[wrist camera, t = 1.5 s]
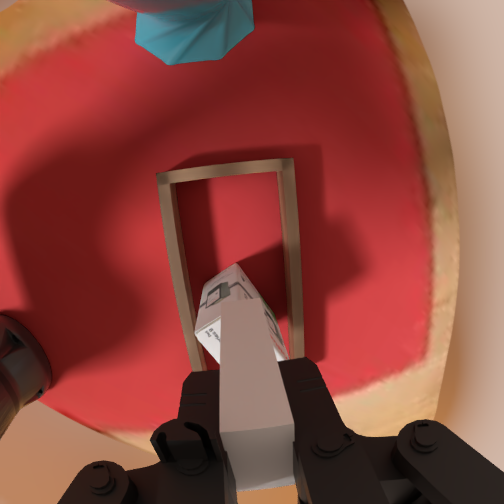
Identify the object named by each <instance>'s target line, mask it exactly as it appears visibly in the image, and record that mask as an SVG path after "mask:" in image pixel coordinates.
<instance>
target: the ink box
mask: <svg viewBox="0 0 504 504" xmlns="http://www.w3.org/2000/svg"><path fill="white" fill-rule="evenodd" d="M254 298H260V300H261V303H262V307H263V311H264V314H265V318H266V322H267V325H268V329H269V333H270V336H271V340H272V344H273V347H274V351H275V355H276V358H277V361H283V360H289V357H288V353H287V350H286V347H285V345H284V341H283V338H282V335H281V332H280V329H279V326H278V323H277V320H276V317H275V314H274V313H273V311H272V310H271V308H270V307H269V306H268V304H267V303H266V302H265V300H264V299H263V298H262V296H261V295H260V293H259V292H258V291H257V289H256V288H255V287H254V285H253V284H252V283H251V281H250V280H249V278H248V277H247V276H246V274H245V273H244V272H243V270H242V269H241V268H240V266H239V265H238V264H237V263H234V264H233V265H231V266H229V267H228V268H226V269H225V270H223V271H222V272H220V273H219V274H218V275H216V276H215V277H213V278H212V279H210V280H209V281H207V282H206V283H205V284H204V286H203V292H202V296H201V301H200V306H199V312H198V317H197V322H196V326H195V335H196V337H197V339H198V340H199V342H200V343H201V344H202V345H203V346H204V347H205V348H206V349H207V350H208V352H209V353H210V354H211V355H212V356H213V357H214V359H215V360H216V361H217V362H218V363H219V364H220V332H221V302H229V301H237V300H246V299H254Z"/></svg>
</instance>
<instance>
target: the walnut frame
mask: <svg viewBox="0 0 504 504" xmlns="http://www.w3.org/2000/svg"><path fill="white" fill-rule="evenodd" d="M272 171H277V182H278V193H279V204H280V216H281V228H282V241H283V254H284V268H285V283H286V298H287V315H288V333H289V353H290V359H296V358H302V357H304V319H303V292H302V270H301V252H300V235H299V221H298V207H297V194H296V182H295V171H294V160H293V158H281V159H268V160H257V161H246V162H236V163H227V164H218V165H210V166H202V167H195V168H188V169H181V170H174V171H168V172H161V173H156V177H157V185H158V193H159V201H160V208H161V215H162V222H163V229H164V235H165V241H166V247H167V253H168V259H169V265H170V270H171V276H172V281H173V286H174V291H175V296H176V301H177V306H178V311H179V316H180V320H181V325H182V329H183V334H184V338H185V342H186V346H187V351H188V355H189V359H190V363H191V367H192V371H193V372H195V371H208V370H207V366H206V361H205V357H204V352H203V348H202V344H201V343H200V342H199V340H198V339H197V337H196V335H195V326H196V322H197V318H196V313H195V308H194V302H193V297H192V291H191V286H190V280H189V274H188V268H187V262H186V256H185V250H184V243H183V237H182V230H181V223H180V216H179V208H178V201H177V193H176V185H175V183H177V182H184V181H191V180H198V179H206V178H214V177H222V176H231V175H240V174H250V173H260V172H272Z"/></svg>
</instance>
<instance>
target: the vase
mask: <svg viewBox="0 0 504 504" xmlns="http://www.w3.org/2000/svg"><path fill="white" fill-rule="evenodd" d="M107 1H109V2H111V3H114V4H116V5H119V6H122V7H124V8H127V9H130V10H132V11H135V12H137V21H136V36H135V43H136V44H138V45H140V46H142V47H143V48H145V49H146V50H148V51H149V52H151V53H152V54H154V55H155V56H156V57H158V58H160V59H161V60H162V61H163V62H164V63H166V64H167V65H175V64H180V63H189V62H197V61H206V60H220V59H222V58H223V57H224V56H225V55H226V54H227V52H229V51H230V50H231V49H232V48H233V47H234V46H235V45H236V44H238V43H239V42H240V41H241V40H242V39H243V38H244V37H245V36H247V35H248V34H249V33H251V32H252V31H253V30H254V28H255V25H254V21H253V9H252V0H107Z"/></svg>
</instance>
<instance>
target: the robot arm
mask: <svg viewBox="0 0 504 504" xmlns="http://www.w3.org/2000/svg"><path fill="white" fill-rule="evenodd" d="M51 380H52V374H51V368H50V365H49V362H48V359H47V357H46V355H45V353H44V351H43V349H42V348H41V346H40V345H39V343H38V342H37V340H36V339H35V338H34V337H33V336H32V334H31V333H30V332H29V331H28V330H27V329H26V328H25V327H24V326H22V325H21V324H20V323H19V322H17V321H16V320H14V319H12V318H10V317H8V316H5V315H0V440H1V438H2V436H3V435H4V433H5V432H6V430H7V429H8V427H9V425H10V424H11V422H12V421H13V419H14V418H15V416H16V414H17V413H18V412H19V410H20V409H22V408H23V407H25V406H27V405H29V404H30V403H32V402H34V401H35V400H37V399H39V398H40V397H42V396H43V395H44V394H45V392H46V391H47V389H48V388H49V386H50V384H51ZM181 395H182V397H181V399H180V407H179V412H178V418H177V419H173V420H170V421H168V422H166V423H164V424H162V425H161V426H160V427H158V428H157V429H156V430H155V431H154V432H153V435H152V437H151V439H150V442H151V443H152V445H153V447H154V449H155V451H156V453H157V455H158V457H159V459H160V460H161V461H160V462H158V463H156V464H154V465H151V466H148V467H143V468H139V469H133V470H128V471H125V470H124V469H123V468H122V466H120V465H117V464H116V463H114V462H110V461H97V462H93V463H91V464H88V465H87V466H85V467H84V468H83V469H82V470H81V471H80V472H79V473H78V474H77V476H76V477H75V479H74V480H73V481H72V483H71V484H70V486H69V487H68V489H67V490H66V492H65V493H64V495H63V496H62V498H61V499H60V501H59V502H58V503H57V504H238V503H237V494H236V493H237V492H236V489H237V491H238V492H239V491H250V490H259V489H267V488H275V487H281V486H288V485H293V484H295V483H296V488H297V492H298V504H504V472H503V471H501V470H500V469H499V468H497V467H496V466H495V465H494V464H492V463H491V462H490V461H489V460H487V459H486V458H484V457H483V456H482V455H481V454H480V453H478V452H477V451H476V450H475V449H473V448H472V447H471V446H470V445H468V444H467V443H466V442H464V441H463V440H462V439H461V438H459V437H458V436H457V435H456V434H454V433H453V432H452V431H451V430H449V429H448V428H447V427H446V426H444V425H442V424H441V423H439V422H437V421H433V420H427V419H425V420H416V421H414V422H411V423H409V424H407V425H406V426H405V427H404V428H402V429H401V430H400V432H399V434H398V436H388V437H366V436H362V435H358V434H356V433H355V432H354V431H353V430H351V429H349V428H347V427H346V426H345V424H344V423H343V421H342V419H341V417H340V415H339V413H338V410H337V408H336V406H335V404H334V402H333V399H332V397H331V395H330V393H329V391H328V388H326V384H325V382H324V380H323V378H322V375H321V373H320V371H319V369H318V367H317V365H316V364H315V363H313V362H312V361H311V360H309V359H308V358H307V357H302V358H296V359H290V360H283V361H277V358H276V355H275V351H274V347H273V344H272V340H271V336H270V333H269V329H268V325H267V322H266V318H265V314H264V311H263V307H262V303H261V300H260V298H254V299H246V300H237V301H229V302H221V332H220V369H219V370H208V371H195V372H191V373H190V374H189V376H188V377H187V378H186V380H185V381H184V382H183V387H182V393H181Z"/></svg>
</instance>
